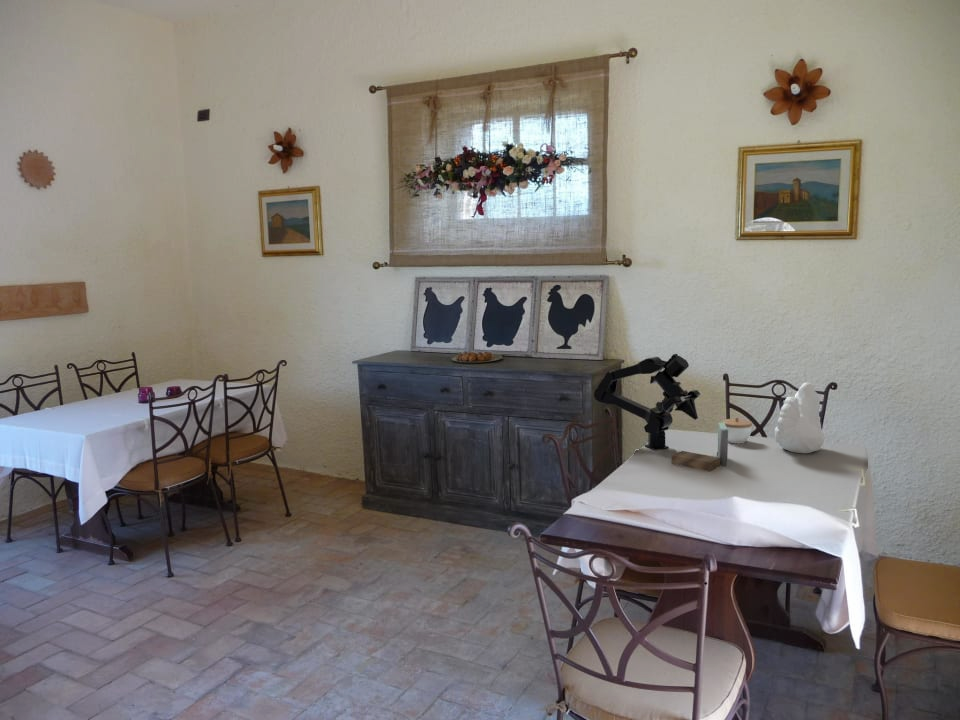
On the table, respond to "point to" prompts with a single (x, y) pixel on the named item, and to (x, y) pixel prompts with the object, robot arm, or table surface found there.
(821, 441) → the decorative rooster
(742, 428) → the lidded jar
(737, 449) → the table surface
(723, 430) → the green rectangular panel
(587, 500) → the table surface
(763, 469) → the table surface
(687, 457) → the stool seat
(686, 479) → the table surface
